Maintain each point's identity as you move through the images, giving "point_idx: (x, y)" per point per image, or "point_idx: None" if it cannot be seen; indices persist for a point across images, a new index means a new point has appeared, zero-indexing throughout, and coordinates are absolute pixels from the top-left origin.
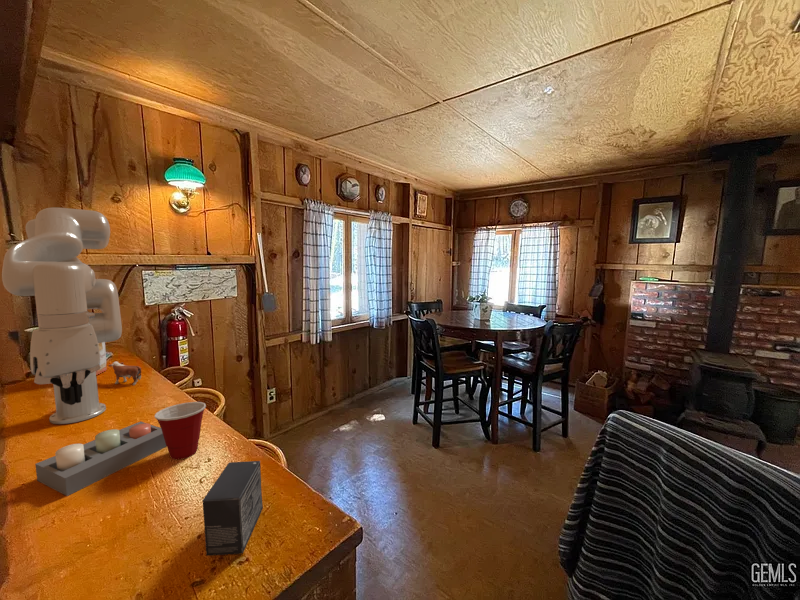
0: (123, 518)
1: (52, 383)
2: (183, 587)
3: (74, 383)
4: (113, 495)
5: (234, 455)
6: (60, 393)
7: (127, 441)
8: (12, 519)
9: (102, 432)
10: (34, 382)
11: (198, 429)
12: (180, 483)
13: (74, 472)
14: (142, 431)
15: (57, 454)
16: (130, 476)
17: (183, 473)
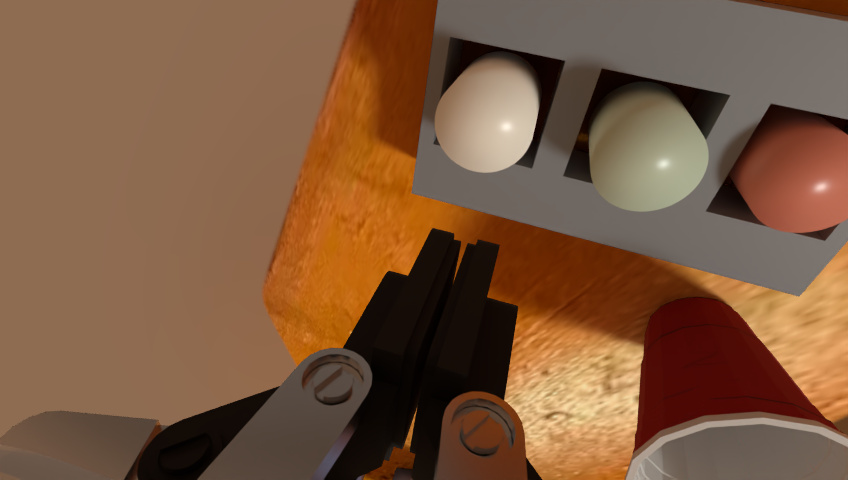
0: None
1: (226, 420)
2: None
3: (416, 469)
4: None
5: None
6: (365, 310)
7: None
8: (328, 119)
9: (666, 121)
10: (19, 423)
11: (712, 451)
12: (535, 383)
13: (442, 191)
14: (764, 221)
15: (436, 119)
16: (544, 259)
17: (576, 372)
